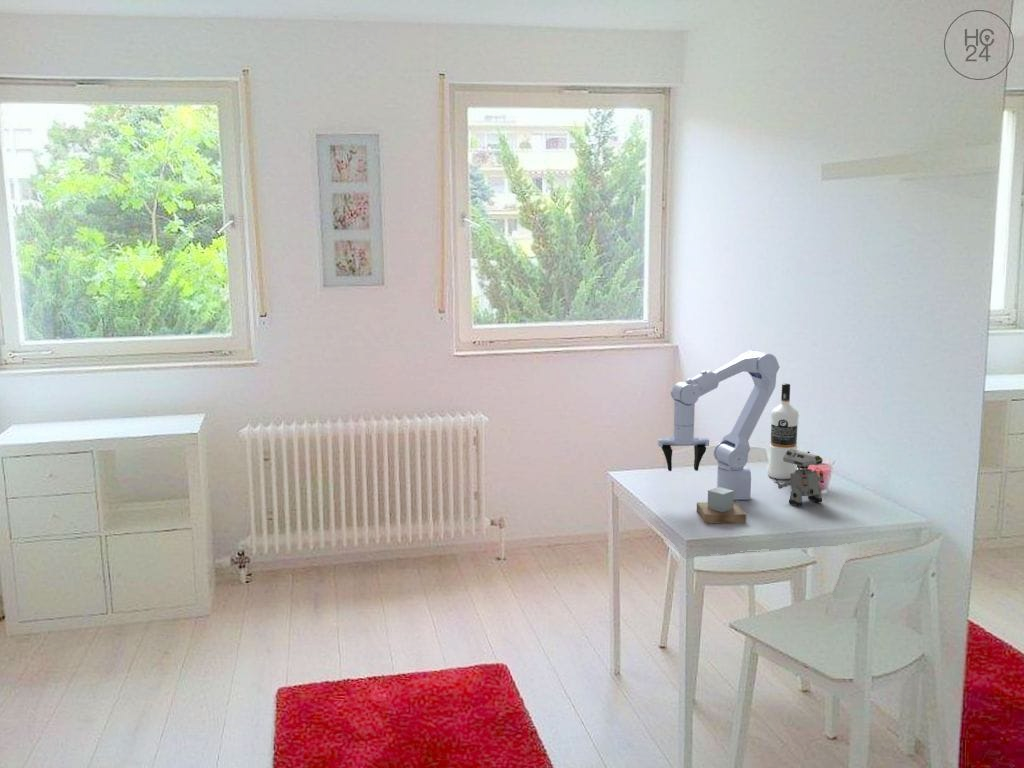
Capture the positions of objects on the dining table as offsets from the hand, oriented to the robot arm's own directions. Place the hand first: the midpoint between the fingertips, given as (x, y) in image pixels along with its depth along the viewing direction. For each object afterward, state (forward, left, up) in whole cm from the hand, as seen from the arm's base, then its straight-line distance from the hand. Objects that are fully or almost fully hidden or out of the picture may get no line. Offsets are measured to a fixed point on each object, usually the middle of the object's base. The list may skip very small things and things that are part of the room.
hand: (682, 470), depth 267 cm
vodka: (-37, -25, -10) cm, 46 cm away
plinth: (-8, +15, -9) cm, 19 cm away
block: (-8, +14, -7) cm, 18 cm away
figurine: (-34, +2, -10) cm, 35 cm away
